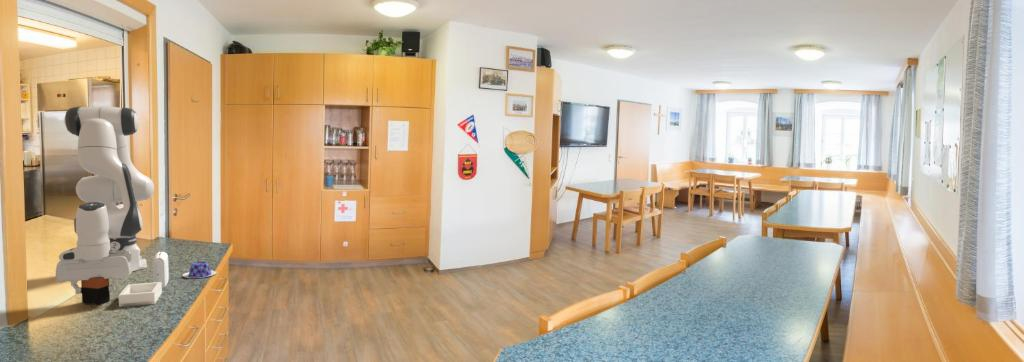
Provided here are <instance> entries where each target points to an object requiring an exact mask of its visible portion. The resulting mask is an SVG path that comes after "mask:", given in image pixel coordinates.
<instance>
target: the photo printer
mask: <svg viewBox="0 0 1024 362" xmlns="http://www.w3.org/2000/svg"><path fill="white" fill-rule="evenodd" d="M151 263H152V283H155V282H162V289H163V288H165V287H166V286H167V284H169V283H168V282H169V280H170V279H169V278H170V276H169V275H170V274H169V255H168V253H167V252H165V251H158V252H156V253H155V254H154V256H153V258H152V262H151Z"/></svg>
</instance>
